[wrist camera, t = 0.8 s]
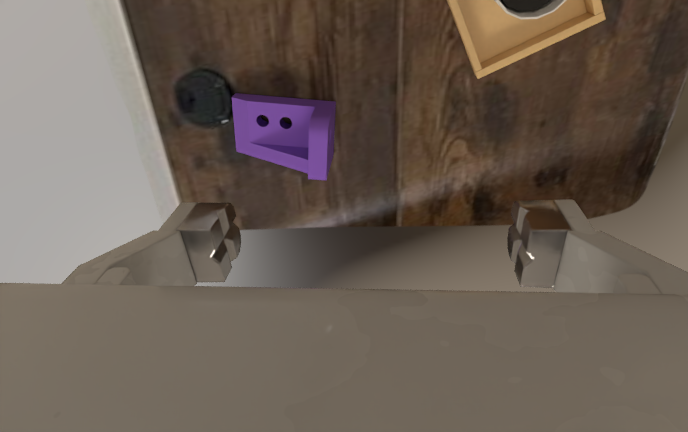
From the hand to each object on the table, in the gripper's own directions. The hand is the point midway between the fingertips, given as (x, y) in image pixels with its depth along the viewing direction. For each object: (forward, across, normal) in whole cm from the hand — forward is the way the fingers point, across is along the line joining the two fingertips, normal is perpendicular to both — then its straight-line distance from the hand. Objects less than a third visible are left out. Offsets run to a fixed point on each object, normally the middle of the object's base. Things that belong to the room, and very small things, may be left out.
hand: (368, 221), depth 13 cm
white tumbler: (+39, -12, -4) cm, 41 cm away
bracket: (+40, +13, +12) cm, 43 cm away
